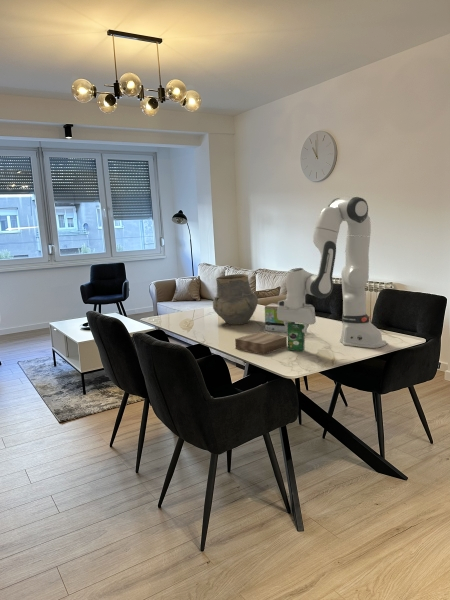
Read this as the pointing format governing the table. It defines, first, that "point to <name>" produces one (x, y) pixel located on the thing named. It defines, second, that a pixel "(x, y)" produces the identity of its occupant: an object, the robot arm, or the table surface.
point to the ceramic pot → (234, 299)
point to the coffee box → (296, 337)
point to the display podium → (261, 342)
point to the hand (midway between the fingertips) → (296, 331)
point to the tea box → (273, 319)
